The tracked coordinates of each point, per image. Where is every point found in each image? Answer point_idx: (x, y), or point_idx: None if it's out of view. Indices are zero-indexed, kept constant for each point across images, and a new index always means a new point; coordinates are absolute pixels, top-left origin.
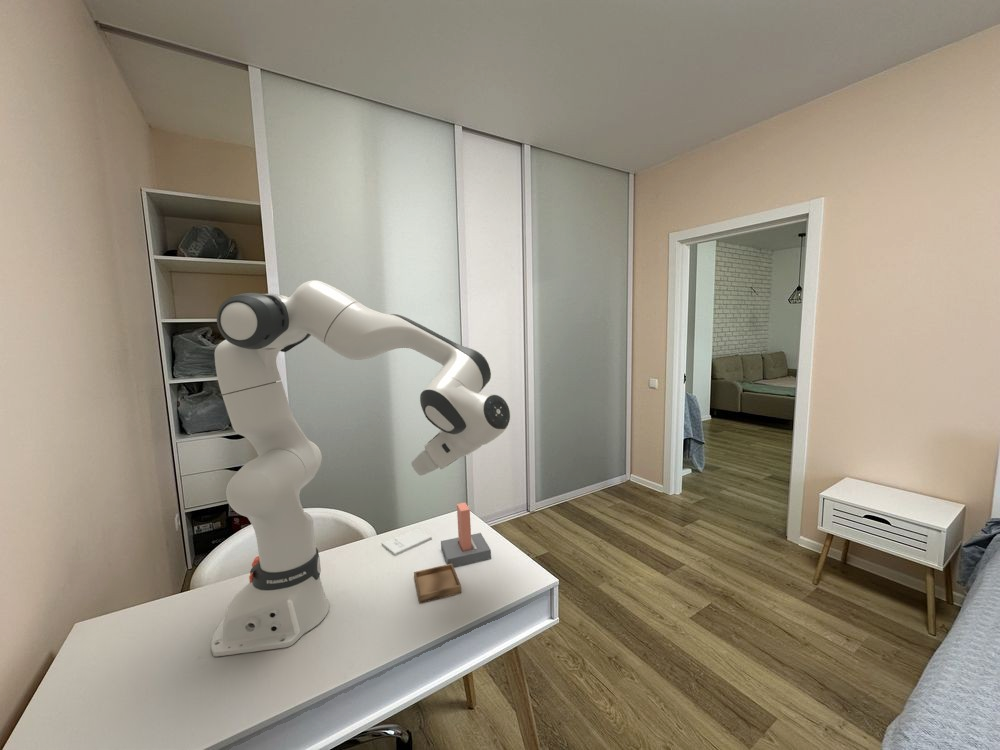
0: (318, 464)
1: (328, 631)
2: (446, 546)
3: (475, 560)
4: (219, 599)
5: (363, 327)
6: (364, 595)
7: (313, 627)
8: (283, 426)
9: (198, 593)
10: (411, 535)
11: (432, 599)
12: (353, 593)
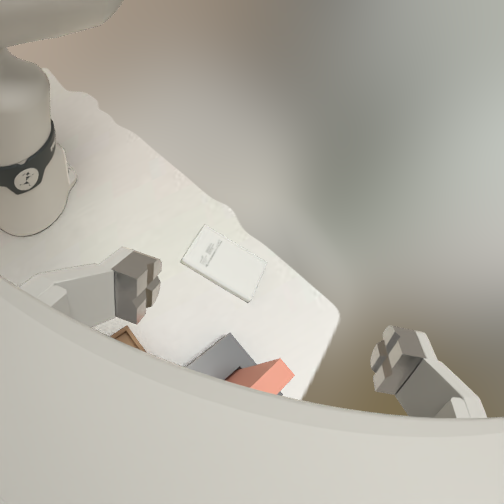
0: (66, 7)
1: (5, 255)
2: (216, 353)
3: None
4: (67, 113)
5: None
6: (72, 265)
7: (9, 233)
8: None
9: (79, 94)
10: (241, 263)
11: None
12: (75, 246)
